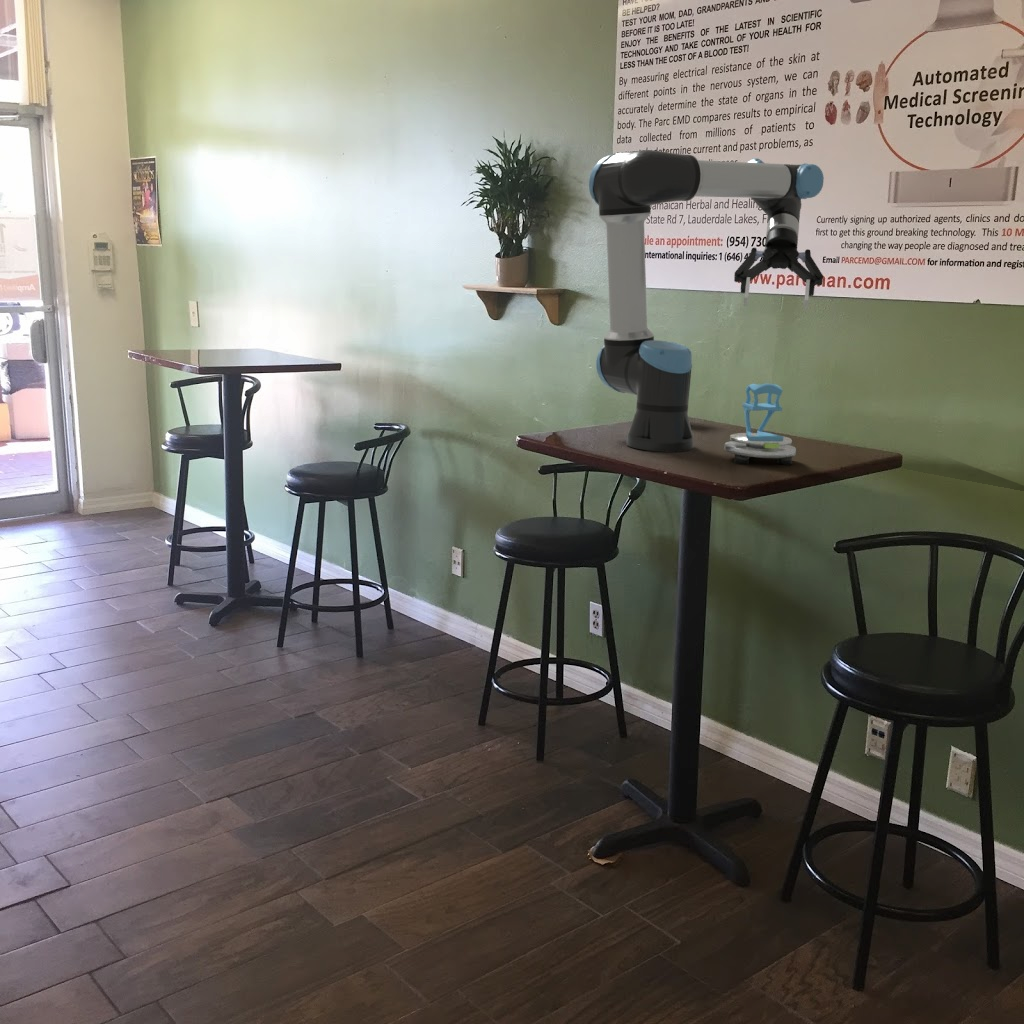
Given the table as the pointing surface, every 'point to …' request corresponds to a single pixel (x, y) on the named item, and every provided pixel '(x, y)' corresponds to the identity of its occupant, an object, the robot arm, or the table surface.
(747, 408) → the chair
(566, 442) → the table surface
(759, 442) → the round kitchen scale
